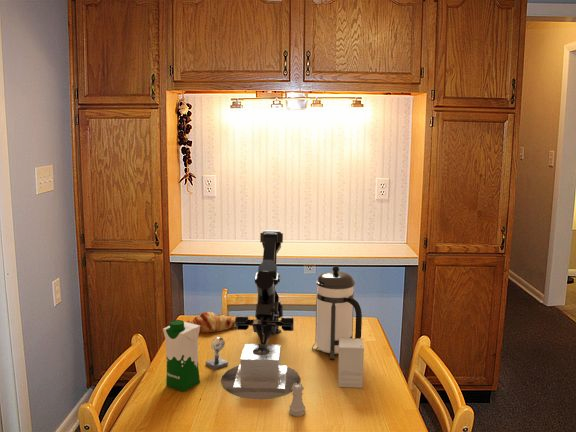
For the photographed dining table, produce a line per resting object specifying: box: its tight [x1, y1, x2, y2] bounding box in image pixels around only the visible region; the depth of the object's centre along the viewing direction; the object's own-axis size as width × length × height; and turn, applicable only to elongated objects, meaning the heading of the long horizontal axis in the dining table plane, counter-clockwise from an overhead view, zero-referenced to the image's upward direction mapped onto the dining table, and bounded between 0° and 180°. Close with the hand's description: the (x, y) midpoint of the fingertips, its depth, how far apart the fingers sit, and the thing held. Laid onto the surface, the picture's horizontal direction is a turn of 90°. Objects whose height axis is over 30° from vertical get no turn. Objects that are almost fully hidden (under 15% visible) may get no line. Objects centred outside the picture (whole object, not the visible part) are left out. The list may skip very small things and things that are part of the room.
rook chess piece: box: [288, 382, 306, 417], centre depth 148 cm, size 4×4×8 cm
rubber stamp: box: [205, 336, 229, 371], centre depth 176 cm, size 5×5×10 cm
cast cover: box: [233, 343, 288, 393], centre depth 166 cm, size 15×15×9 cm
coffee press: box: [311, 265, 363, 361], centre depth 185 cm, size 17×16×30 cm
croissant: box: [186, 311, 236, 334], centre depth 207 cm, size 21×10×8 cm, turn 104°
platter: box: [220, 363, 301, 400], centre depth 167 cm, size 24×24×1 cm
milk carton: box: [162, 319, 201, 393], centre depth 162 cm, size 9×9×20 cm
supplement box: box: [337, 337, 365, 389], centre depth 165 cm, size 7×7×13 cm
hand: (263, 348), depth 174 cm, fingers closed
